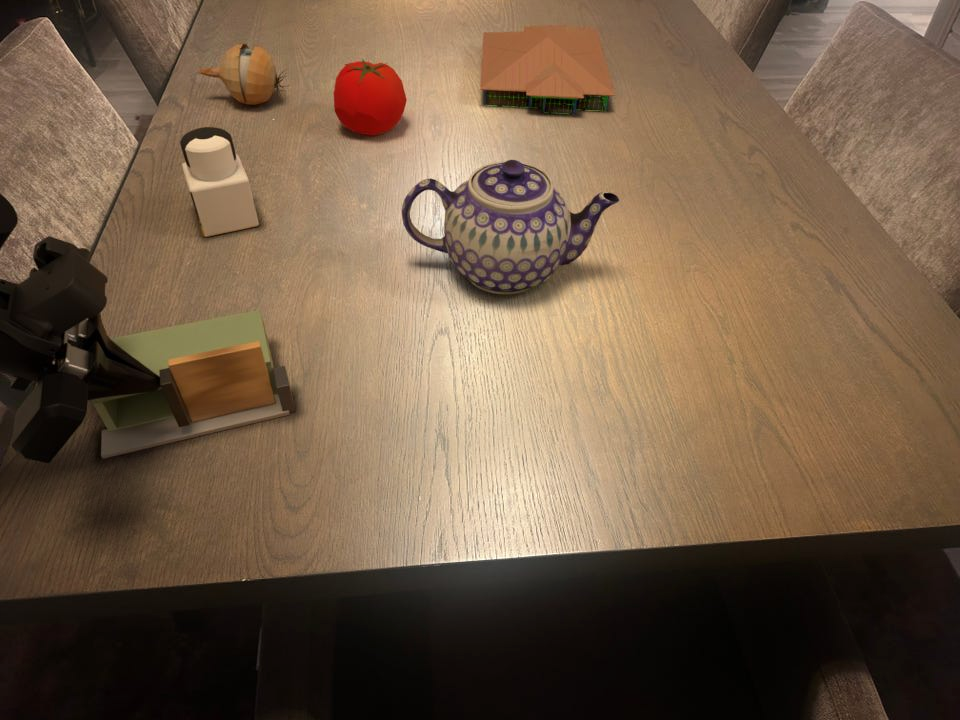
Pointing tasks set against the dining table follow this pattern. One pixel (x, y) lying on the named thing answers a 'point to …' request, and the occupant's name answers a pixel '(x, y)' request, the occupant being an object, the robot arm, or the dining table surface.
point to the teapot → (508, 226)
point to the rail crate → (149, 413)
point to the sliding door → (216, 383)
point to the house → (546, 64)
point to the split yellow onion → (247, 74)
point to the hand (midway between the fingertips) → (159, 384)
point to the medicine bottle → (217, 182)
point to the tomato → (369, 97)
